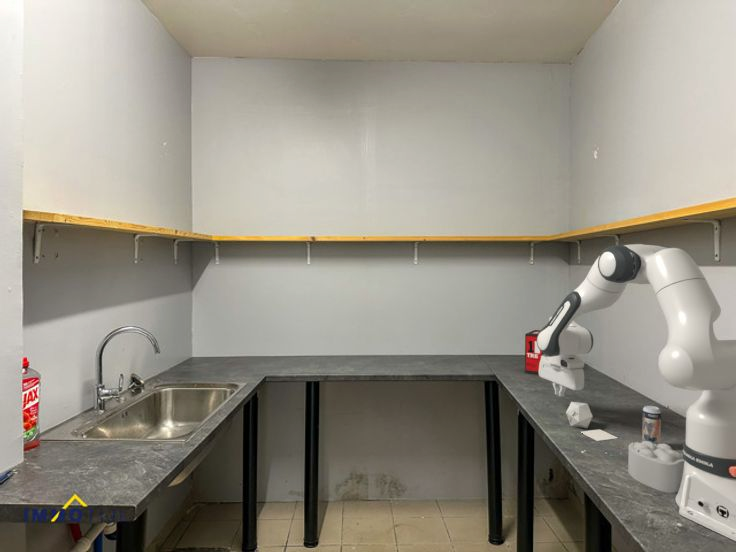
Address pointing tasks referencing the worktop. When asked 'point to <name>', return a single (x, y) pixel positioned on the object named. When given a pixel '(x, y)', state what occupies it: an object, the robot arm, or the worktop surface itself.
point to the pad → (599, 435)
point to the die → (579, 414)
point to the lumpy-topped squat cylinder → (656, 465)
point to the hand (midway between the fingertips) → (559, 395)
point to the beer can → (651, 424)
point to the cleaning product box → (532, 353)
